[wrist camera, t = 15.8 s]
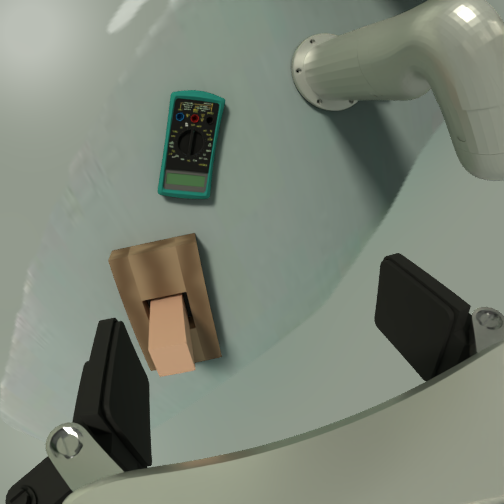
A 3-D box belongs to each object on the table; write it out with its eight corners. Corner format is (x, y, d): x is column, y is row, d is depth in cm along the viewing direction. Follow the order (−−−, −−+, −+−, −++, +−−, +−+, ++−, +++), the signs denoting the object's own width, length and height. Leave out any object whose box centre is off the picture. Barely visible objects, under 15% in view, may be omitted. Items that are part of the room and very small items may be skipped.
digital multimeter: (224, 96, 40) (227, 94, 38) (207, 196, 46) (209, 201, 43) (172, 89, 38) (171, 87, 35) (157, 192, 43) (156, 196, 41)
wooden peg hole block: (194, 233, 47) (196, 241, 44) (218, 344, 56) (221, 356, 53) (112, 250, 45) (108, 260, 42) (151, 357, 54) (150, 370, 51)
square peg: (180, 286, 50) (186, 342, 37) (187, 312, 52) (195, 370, 40) (151, 293, 49) (148, 350, 37) (159, 317, 51) (159, 376, 39)
